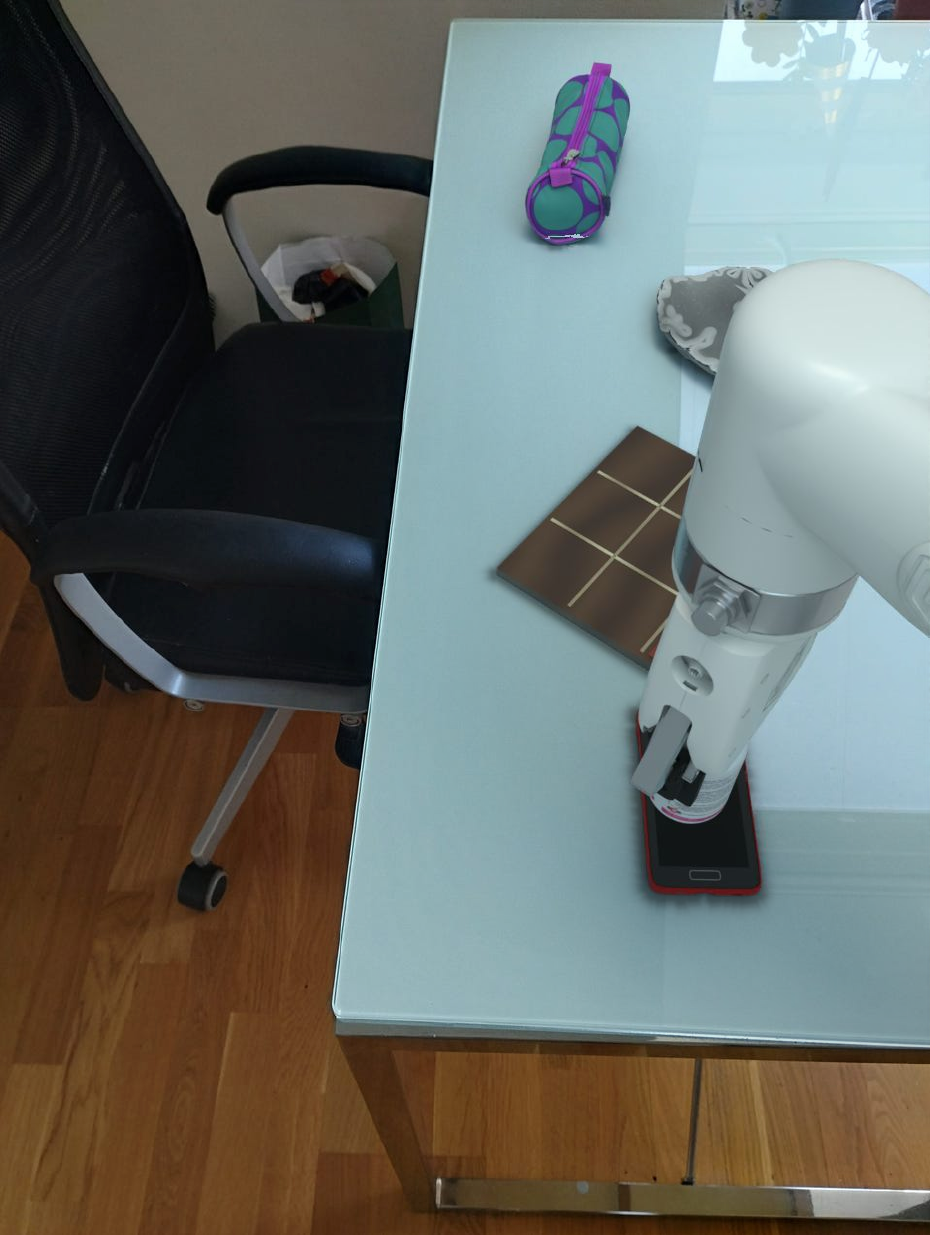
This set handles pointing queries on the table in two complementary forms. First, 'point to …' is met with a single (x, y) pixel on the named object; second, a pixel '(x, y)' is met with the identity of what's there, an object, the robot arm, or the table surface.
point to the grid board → (612, 547)
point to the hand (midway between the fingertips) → (694, 750)
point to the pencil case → (579, 157)
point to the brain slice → (703, 310)
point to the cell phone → (702, 845)
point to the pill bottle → (703, 796)
